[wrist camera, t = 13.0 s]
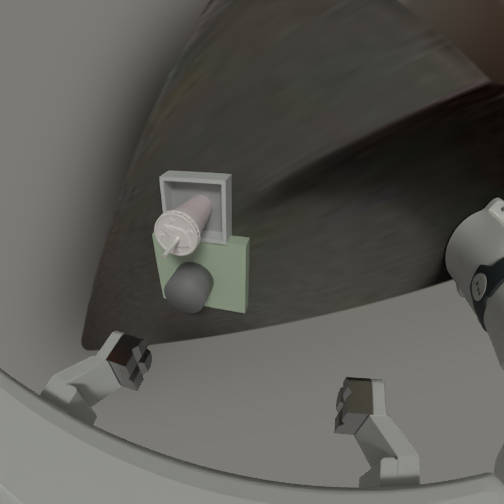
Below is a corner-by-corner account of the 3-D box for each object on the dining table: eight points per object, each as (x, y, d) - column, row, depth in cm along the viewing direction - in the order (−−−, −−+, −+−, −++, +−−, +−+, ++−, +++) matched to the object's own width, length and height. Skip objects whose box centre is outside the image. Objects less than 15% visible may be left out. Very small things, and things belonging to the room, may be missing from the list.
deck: (251, 175, 43) (237, 194, 36) (248, 304, 56) (238, 333, 49) (152, 170, 45) (126, 186, 39) (168, 289, 58) (152, 315, 52)
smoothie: (206, 231, 49) (170, 284, 37) (175, 207, 48) (130, 253, 36) (228, 204, 45) (194, 253, 34) (195, 178, 44) (149, 218, 33)
